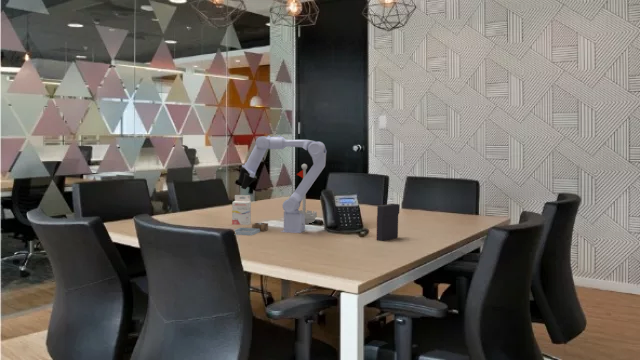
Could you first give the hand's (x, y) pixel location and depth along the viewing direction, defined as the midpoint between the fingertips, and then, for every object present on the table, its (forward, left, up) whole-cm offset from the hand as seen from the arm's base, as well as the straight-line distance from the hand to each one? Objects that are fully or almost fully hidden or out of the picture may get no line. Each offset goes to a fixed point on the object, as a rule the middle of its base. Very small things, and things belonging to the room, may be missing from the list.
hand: (241, 185), depth 262 cm
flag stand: (-20, -32, -21) cm, 43 cm away
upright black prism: (-69, -1, -21) cm, 72 cm away
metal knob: (-10, +1, -21) cm, 23 cm away
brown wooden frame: (-10, +1, -20) cm, 22 cm away
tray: (-7, +10, -21) cm, 24 cm away
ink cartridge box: (+6, -13, -21) cm, 25 cm away
